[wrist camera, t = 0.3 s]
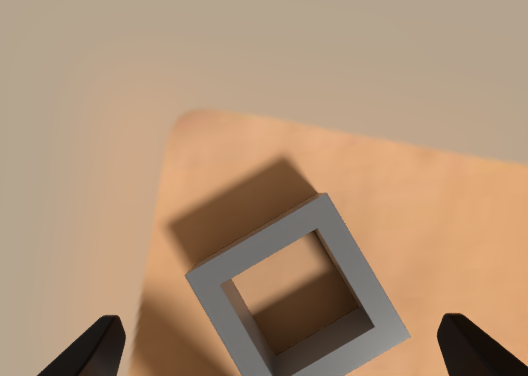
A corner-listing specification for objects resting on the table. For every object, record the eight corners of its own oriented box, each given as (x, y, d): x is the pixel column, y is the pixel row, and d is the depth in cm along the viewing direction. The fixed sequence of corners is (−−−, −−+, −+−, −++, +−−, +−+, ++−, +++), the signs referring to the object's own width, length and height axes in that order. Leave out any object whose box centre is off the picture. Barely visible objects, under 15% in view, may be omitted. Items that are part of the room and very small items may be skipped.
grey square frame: (389, 315, 23) (411, 336, 20) (267, 386, 23) (267, 420, 20) (318, 192, 24) (326, 192, 20) (196, 263, 24) (184, 275, 20)
